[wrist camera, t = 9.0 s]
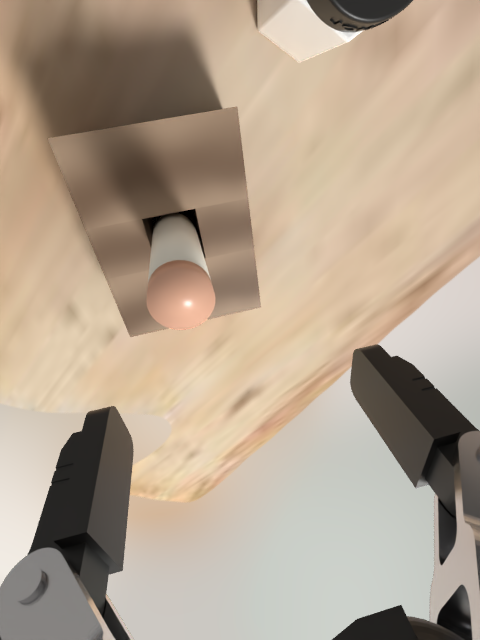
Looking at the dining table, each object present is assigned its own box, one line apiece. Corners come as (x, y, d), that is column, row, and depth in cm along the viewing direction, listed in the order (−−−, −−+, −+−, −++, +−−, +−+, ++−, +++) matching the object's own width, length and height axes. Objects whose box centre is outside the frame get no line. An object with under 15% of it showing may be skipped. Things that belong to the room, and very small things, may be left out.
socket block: (71, 134, 28) (47, 138, 22) (222, 109, 30) (237, 106, 24) (135, 304, 38) (130, 337, 32) (246, 279, 40) (261, 307, 34)
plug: (147, 217, 28) (136, 278, 17) (191, 209, 28) (208, 263, 18) (159, 259, 30) (157, 336, 19) (200, 250, 31) (220, 321, 20)
